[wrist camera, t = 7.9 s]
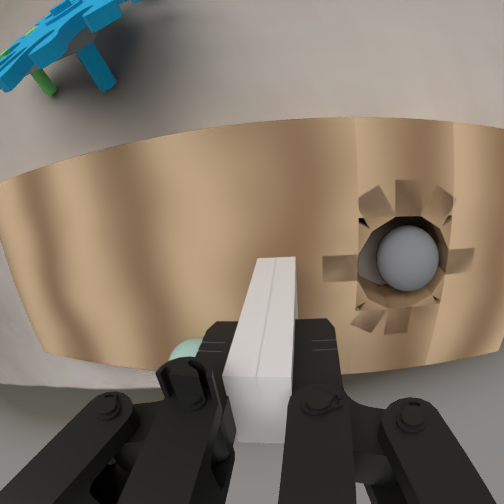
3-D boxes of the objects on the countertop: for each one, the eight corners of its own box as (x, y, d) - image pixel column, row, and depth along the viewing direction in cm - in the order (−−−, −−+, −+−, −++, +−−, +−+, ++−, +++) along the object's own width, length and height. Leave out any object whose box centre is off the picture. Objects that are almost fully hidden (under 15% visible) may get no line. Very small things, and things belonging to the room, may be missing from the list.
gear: (191, -58, 9) (66, 21, 5) (218, 26, 14) (146, 148, 11) (46, 3, 12) (-55, 106, 8) (81, 59, 17) (4, 166, 13)
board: (61, 334, 21) (44, 352, 19) (13, 178, 17) (-12, 187, 14) (483, 329, 16) (498, 350, 14) (510, 131, 12) (536, 135, 9)
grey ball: (412, 273, 16) (364, 282, 16) (415, 217, 15) (365, 222, 15) (447, 294, 13) (396, 307, 13) (453, 230, 12) (400, 236, 12)
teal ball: (186, 368, 17) (168, 408, 14) (173, 324, 16) (150, 363, 13) (239, 371, 17) (229, 414, 14) (231, 325, 15) (217, 368, 12)
